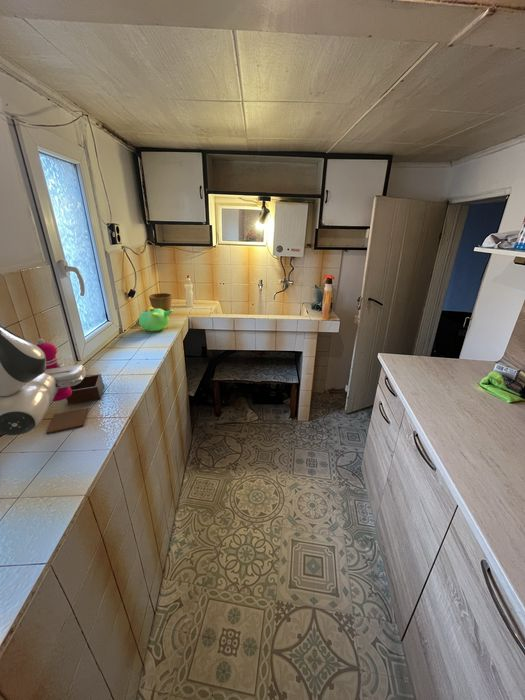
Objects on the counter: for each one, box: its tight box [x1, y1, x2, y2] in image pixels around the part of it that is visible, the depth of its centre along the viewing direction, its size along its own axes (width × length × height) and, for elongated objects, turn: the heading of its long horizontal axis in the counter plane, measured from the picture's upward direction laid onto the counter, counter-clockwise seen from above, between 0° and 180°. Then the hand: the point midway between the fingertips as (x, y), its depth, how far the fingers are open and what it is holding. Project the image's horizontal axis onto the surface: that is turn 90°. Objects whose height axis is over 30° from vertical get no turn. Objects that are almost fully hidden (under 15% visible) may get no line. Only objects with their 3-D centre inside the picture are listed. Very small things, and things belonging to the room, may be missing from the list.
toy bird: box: [138, 305, 174, 332], centre depth 173 cm, size 18×17×15 cm
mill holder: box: [66, 373, 105, 406], centre depth 109 cm, size 11×11×6 cm
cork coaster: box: [46, 407, 89, 435], centre depth 95 cm, size 10×10×1 cm
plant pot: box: [148, 292, 173, 318], centre depth 196 cm, size 15×15×16 cm
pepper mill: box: [35, 338, 72, 402], centre depth 87 cm, size 7×7×20 cm
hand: (51, 367), depth 88 cm, fingers closed on pepper mill, 4 cm apart
